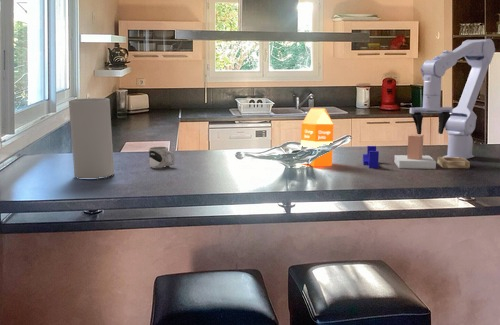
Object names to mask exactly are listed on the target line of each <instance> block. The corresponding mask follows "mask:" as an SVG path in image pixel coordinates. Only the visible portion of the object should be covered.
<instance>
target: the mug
mask: <svg viewBox="0 0 500 325" xmlns="http://www.w3.org/2000/svg"><path fill="white" fill-rule="evenodd" d="M169 155H170V157H171V162H170V161H169ZM148 156H149V160H148V161H149V167H150V166H154V167H164V166H169V167H170V166H173V165H175V160H176V159H175V153H174V152H173V151H171V150H169V147H167V146H153V147H152V146H151V147H148Z"/></svg>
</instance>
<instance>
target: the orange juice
mask: <svg viewBox="0 0 500 325" xmlns="http://www.w3.org/2000/svg"><path fill="white" fill-rule="evenodd" d="M300 131H301V132H300V133H301V134H300V136H301V137H300V148H301V147H302V146H303V147H313V148H317V147H319V146H321V145H323V144H326V145H329V144H330V143H334V122H333V121H332V118H331V117H330V114H329V113H328V111H327V109H326V107H323V108H322V107H311V108H310V110H309V111H308V112H307V114H306V116H305V117H304V119H303V121H302V122H301V130H300ZM332 165H333V149H332V150H331V151H330V152H328V153H326V154H324V155H322V156H320V157H318V158H316V159H315V160H314V161H312V162H311V166H310V167H331V166H332Z"/></svg>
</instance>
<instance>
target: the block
mask: <svg viewBox="0 0 500 325" xmlns="http://www.w3.org/2000/svg"><path fill="white" fill-rule="evenodd" d="M423 152H424V134H414V133H413V134H409V135H408V138H407V154H406V155H407V159H416V160H419V159H421V158H422V155H424V154H423Z"/></svg>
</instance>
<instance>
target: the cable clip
mask: <svg viewBox="0 0 500 325" xmlns="http://www.w3.org/2000/svg"><path fill="white" fill-rule="evenodd" d="M366 151H367V152H366V153H363V154H362V164H363V166H368V169H369V168H374V169H379V158H380V157H379V156H380V155H379V154H380V152H379V151H378V150H377V146H376V145H367V150H366Z"/></svg>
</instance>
